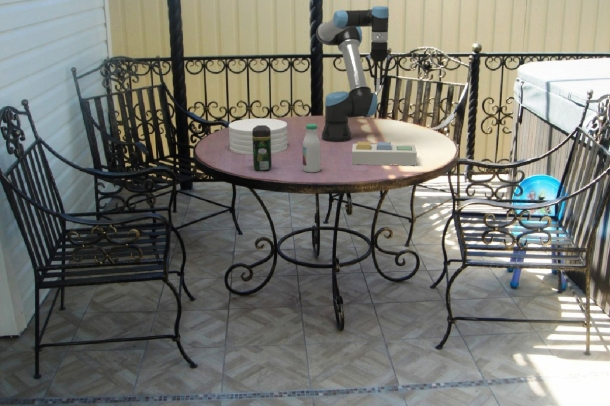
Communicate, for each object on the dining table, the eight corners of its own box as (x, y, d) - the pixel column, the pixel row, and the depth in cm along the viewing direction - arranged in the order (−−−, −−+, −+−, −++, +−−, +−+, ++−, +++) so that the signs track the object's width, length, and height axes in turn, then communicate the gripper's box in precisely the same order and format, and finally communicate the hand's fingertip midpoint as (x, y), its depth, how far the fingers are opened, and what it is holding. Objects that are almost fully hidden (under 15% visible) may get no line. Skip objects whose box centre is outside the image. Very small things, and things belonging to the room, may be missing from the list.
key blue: (377, 154, 293) (377, 145, 292) (377, 150, 299) (377, 141, 298) (390, 154, 293) (391, 145, 291) (390, 150, 298) (390, 142, 297)
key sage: (397, 158, 293) (397, 149, 292) (396, 154, 299) (397, 146, 297) (411, 158, 293) (411, 149, 291) (410, 154, 298) (410, 146, 297)
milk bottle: (322, 168, 286) (323, 123, 280) (317, 173, 279) (317, 127, 273) (306, 167, 289) (305, 122, 282) (300, 172, 282) (299, 125, 275)
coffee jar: (253, 165, 292) (252, 124, 285) (271, 165, 292) (270, 123, 286) (252, 171, 282) (251, 129, 276) (271, 171, 283) (270, 128, 277)
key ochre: (356, 153, 294) (357, 144, 293) (357, 150, 300) (357, 141, 298) (370, 153, 294) (370, 145, 292) (370, 150, 299) (370, 141, 298)
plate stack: (254, 138, 341) (254, 116, 337) (298, 145, 325) (298, 122, 321) (217, 149, 319) (216, 126, 315) (263, 158, 304) (262, 133, 300)
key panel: (351, 164, 292) (352, 151, 290) (352, 156, 305) (352, 143, 303) (416, 165, 289) (416, 152, 287) (414, 157, 303) (414, 144, 301)
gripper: (365, 42, 302) (364, 93, 310) (393, 42, 301) (392, 93, 309) (365, 40, 310) (364, 90, 317) (393, 40, 308) (391, 91, 316)
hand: (377, 92), depth 313 cm, fingers closed
